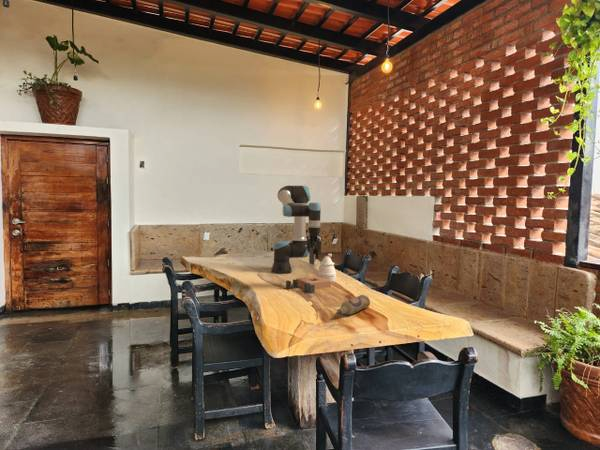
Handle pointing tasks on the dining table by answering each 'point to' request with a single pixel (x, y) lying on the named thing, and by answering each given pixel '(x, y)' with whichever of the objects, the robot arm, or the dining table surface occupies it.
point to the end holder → (314, 282)
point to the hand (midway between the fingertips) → (313, 263)
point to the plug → (311, 257)
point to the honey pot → (327, 269)
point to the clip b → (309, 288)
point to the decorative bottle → (354, 305)
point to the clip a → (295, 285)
